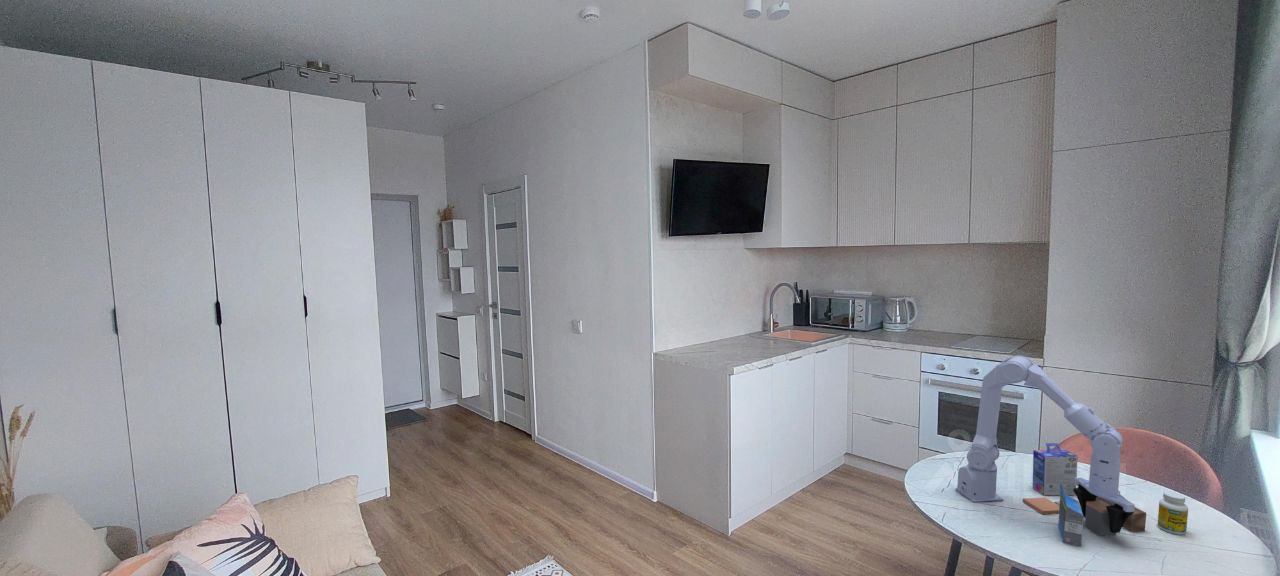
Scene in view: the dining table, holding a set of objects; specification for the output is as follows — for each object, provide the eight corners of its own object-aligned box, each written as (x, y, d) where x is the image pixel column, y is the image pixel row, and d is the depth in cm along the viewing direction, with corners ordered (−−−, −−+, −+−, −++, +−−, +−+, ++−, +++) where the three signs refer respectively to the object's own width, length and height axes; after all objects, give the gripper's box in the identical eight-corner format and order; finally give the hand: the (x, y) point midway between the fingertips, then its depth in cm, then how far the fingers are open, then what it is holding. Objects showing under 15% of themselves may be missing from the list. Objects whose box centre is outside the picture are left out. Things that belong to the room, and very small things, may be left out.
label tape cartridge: (1082, 547, 130) (1085, 500, 128) (1062, 542, 132) (1065, 496, 131) (1075, 529, 137) (1078, 485, 136) (1057, 525, 139) (1059, 482, 138)
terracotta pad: (1042, 514, 145) (1042, 511, 145) (1022, 501, 152) (1022, 498, 152) (1066, 513, 145) (1066, 509, 145) (1045, 500, 152) (1045, 497, 152)
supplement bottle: (1177, 525, 138) (1180, 491, 137) (1191, 536, 133) (1195, 501, 132) (1152, 522, 140) (1155, 488, 139) (1165, 533, 135) (1168, 498, 134)
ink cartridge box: (1062, 486, 160) (1065, 441, 159) (1077, 495, 155) (1080, 449, 153) (1030, 487, 160) (1032, 442, 159) (1043, 495, 155) (1046, 449, 154)
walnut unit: (1130, 531, 136) (1132, 513, 135) (1081, 504, 150) (1083, 487, 149) (1146, 530, 136) (1147, 512, 136) (1096, 503, 150) (1097, 487, 150)
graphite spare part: (1100, 536, 134) (1102, 510, 133) (1084, 527, 138) (1086, 501, 138) (1116, 535, 134) (1118, 509, 134) (1100, 526, 139) (1101, 500, 138)
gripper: (1147, 486, 128) (1143, 538, 129) (1092, 461, 142) (1089, 508, 144) (1120, 488, 127) (1116, 540, 129) (1068, 462, 142) (1065, 510, 143)
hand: (1100, 523), depth 136 cm, fingers open, 7 cm apart
